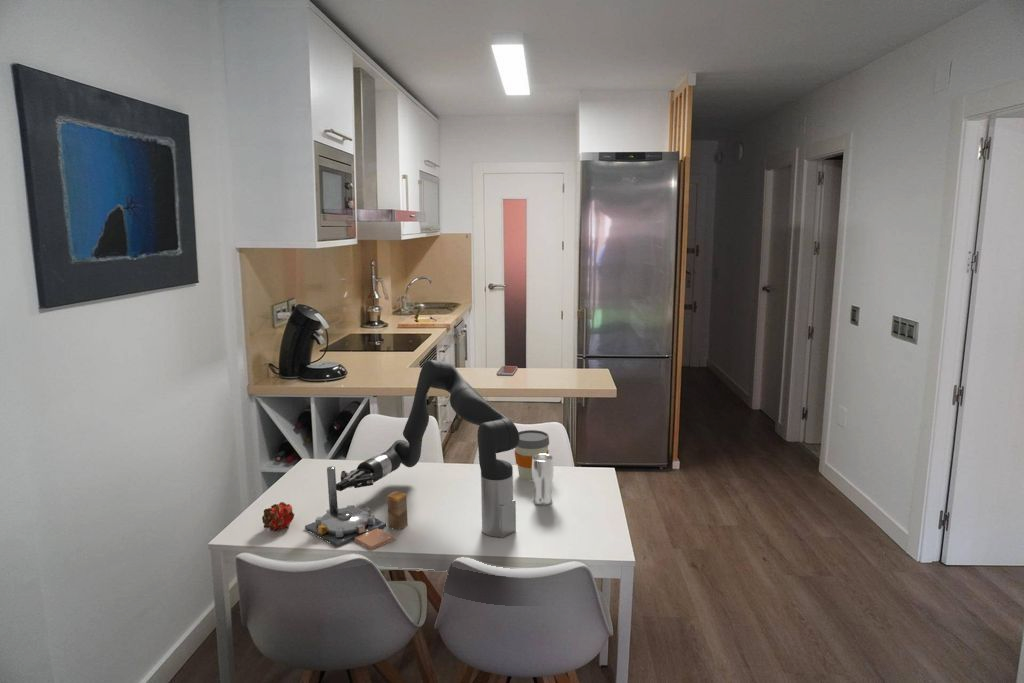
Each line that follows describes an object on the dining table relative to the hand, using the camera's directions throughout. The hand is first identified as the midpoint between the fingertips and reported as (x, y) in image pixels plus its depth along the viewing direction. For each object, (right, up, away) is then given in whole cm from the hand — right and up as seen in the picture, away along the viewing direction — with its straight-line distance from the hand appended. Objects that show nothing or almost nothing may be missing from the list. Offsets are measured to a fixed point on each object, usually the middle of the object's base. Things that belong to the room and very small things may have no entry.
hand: (338, 487), depth 207 cm
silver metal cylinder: (+63, -7, +12) cm, 65 cm away
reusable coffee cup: (+60, -3, +34) cm, 69 cm away
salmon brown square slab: (+14, -12, -12) cm, 22 cm away
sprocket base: (+3, -11, -4) cm, 12 cm away
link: (+19, -11, -4) cm, 22 cm away
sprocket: (+3, -10, -5) cm, 11 cm away
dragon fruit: (-16, -11, -4) cm, 20 cm away
